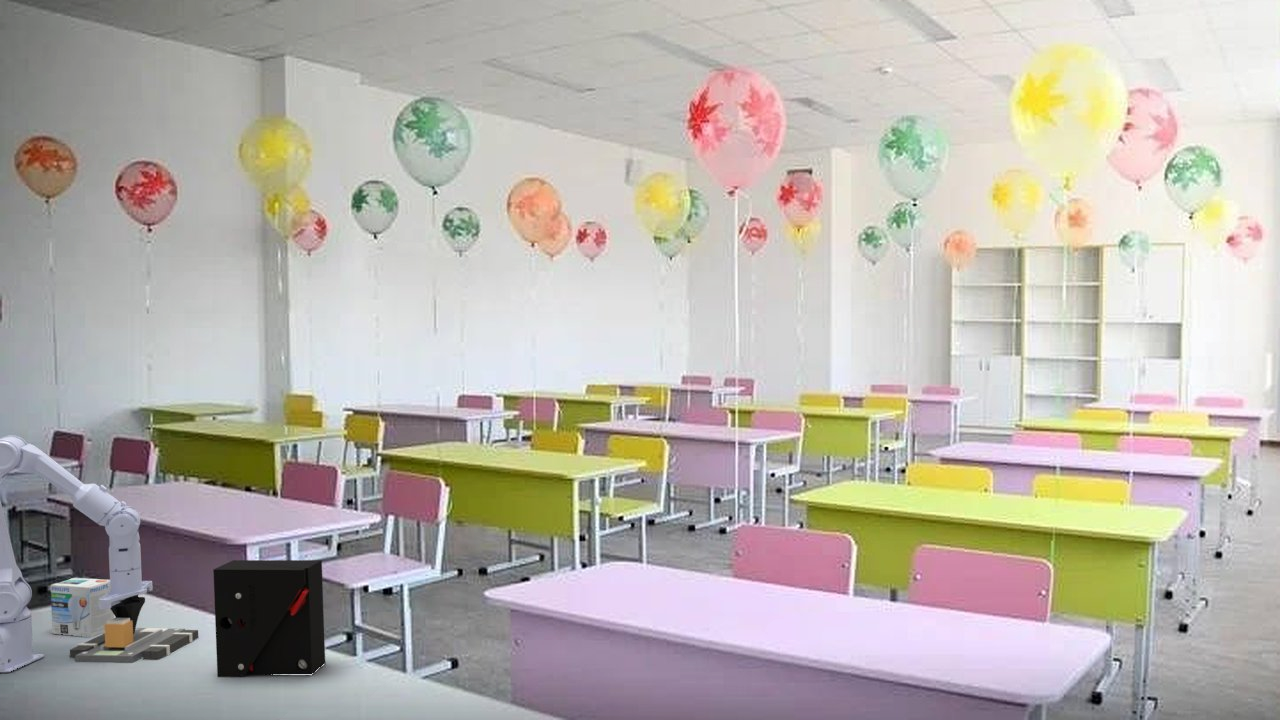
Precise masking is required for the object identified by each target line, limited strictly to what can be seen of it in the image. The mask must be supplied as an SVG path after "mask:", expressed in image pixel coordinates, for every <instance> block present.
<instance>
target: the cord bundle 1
mask: <svg viewBox="0 0 1280 720" xmlns="http://www.w3.org/2000/svg"><path fill="white" fill-rule="evenodd" d="M103 643H105V632H103V633H101V634H99V635H97V636H96V637H94V638H92V639H90V640H88V641H86V642H83V643H77V645H76V646H75V647H73V648H70V649H69V658H70V657H72V658H71V659H75V655H77V654H79V653H81V652H86V651H88V650H90V649H93V648H96V647H98V646H99V645H101V644H103Z"/></svg>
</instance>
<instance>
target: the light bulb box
mask: <svg viewBox="0 0 1280 720" xmlns="http://www.w3.org/2000/svg"><path fill="white" fill-rule="evenodd" d="M109 592H110V579H102V578H101V579H99V578H84V577H72V578H70V579H67V580H63V581H60V582H59V581H58V582H55V583H52V584H50V605H51V634H52V633H53V634H52V635H61V634H63V635H65V636H71V635H73V637H81V636H82V637H83V638H92V636H93V637H95V636H98V635H101V634H103V632H105V627H104V625H105V624H107V621H108V620H110V619H113V618H115V615H114V613H113V612H112V611H111V609H99V599H101V598H103V597H104V596H105V595H106V594H107V593H109ZM100 633H101V634H100ZM97 634H98V635H97ZM82 637H81V638H82Z"/></svg>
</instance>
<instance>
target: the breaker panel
mask: <svg viewBox="0 0 1280 720" xmlns="http://www.w3.org/2000/svg"><path fill="white" fill-rule="evenodd" d="M182 630H186V628H168V627H167V628H165V627H164V628H162V627H160V628H159V627H158V628H157V627H154V628H153V627H150V628H149V627H136V629H135V633H134V635H133V643H131V644H129V645H127V646H125V647H105V643H103V644H101V645H99V646H98V647H96V648H93V649H90V650H88V651H86V652H81V653H79V654H77V655H75V658H74V659H75V662H87V663H88V662H89V663H90V662H91V663H92V662H93V663H96V662H97V663H130V664H131V663H134V662H137V661H138V660H140V659H143V651H144V650H146V649H148V648H149V646H150V645H155V644H157V643H159V642H161V641H163V640H165V639H167V638H169V637H171V636H173V633H178V632H180V631H182Z"/></svg>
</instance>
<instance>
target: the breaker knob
mask: <svg viewBox="0 0 1280 720" xmlns="http://www.w3.org/2000/svg"><path fill="white" fill-rule="evenodd" d="M104 627H105V647H125V646H127V645H129V644H131V643H133V620H130V618H116V617H114V618H113V619H110V620H108V621H107V624H105V625H104Z"/></svg>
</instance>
